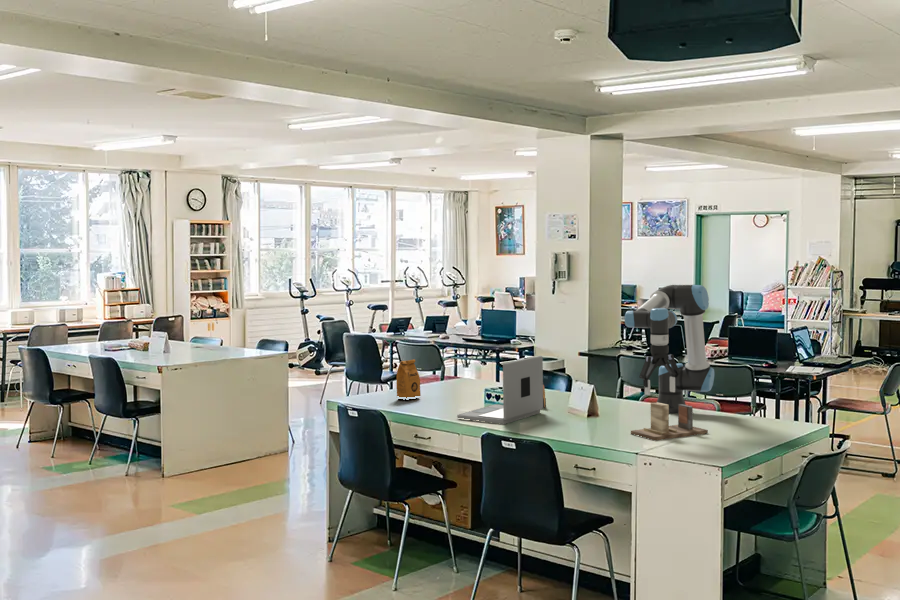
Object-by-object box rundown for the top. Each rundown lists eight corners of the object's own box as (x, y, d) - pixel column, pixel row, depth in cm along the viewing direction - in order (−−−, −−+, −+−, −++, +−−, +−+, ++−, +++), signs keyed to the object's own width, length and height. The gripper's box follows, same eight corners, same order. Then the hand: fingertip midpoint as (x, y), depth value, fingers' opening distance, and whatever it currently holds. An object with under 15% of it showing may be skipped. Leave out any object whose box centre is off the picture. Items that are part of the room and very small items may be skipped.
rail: (682, 427, 403) (682, 401, 402) (707, 433, 388) (707, 407, 388) (630, 434, 390) (630, 407, 389) (654, 440, 375) (654, 413, 375)
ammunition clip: (546, 407, 460) (545, 384, 460) (543, 408, 459) (543, 384, 458) (530, 405, 468) (530, 382, 467) (528, 405, 467) (527, 383, 466)
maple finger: (658, 429, 391) (658, 402, 390) (669, 432, 385) (669, 404, 384) (650, 430, 389) (650, 403, 388) (661, 433, 383) (661, 405, 382)
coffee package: (423, 399, 494) (422, 359, 493) (406, 402, 485) (405, 361, 484) (411, 397, 501) (410, 358, 500) (394, 400, 492) (393, 360, 491)
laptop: (495, 408, 461) (494, 352, 460) (543, 413, 445) (543, 355, 444) (456, 420, 432) (455, 360, 430) (506, 425, 416) (505, 363, 414)
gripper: (641, 347, 376) (642, 397, 377) (688, 343, 387) (688, 391, 388) (630, 345, 383) (631, 394, 384) (676, 341, 394) (676, 389, 395)
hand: (660, 393), depth 386 cm, fingers open, 13 cm apart
